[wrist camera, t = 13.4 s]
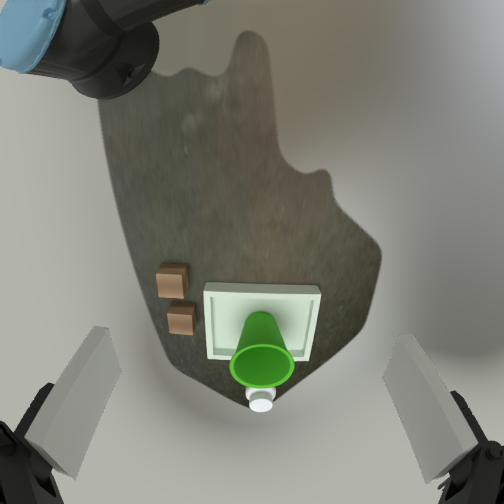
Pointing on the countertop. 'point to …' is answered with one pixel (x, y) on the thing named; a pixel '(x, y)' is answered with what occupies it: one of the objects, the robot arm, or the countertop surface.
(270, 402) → the supplement bottle
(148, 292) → the countertop surface
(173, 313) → the walnut block
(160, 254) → the countertop surface
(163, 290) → the walnut block
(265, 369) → the cup
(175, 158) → the countertop surface
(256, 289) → the tray
